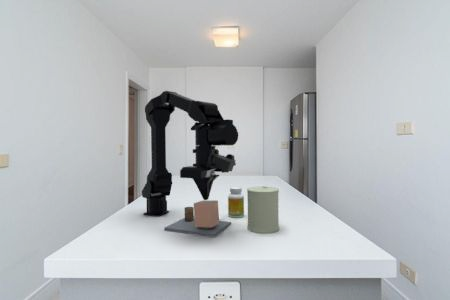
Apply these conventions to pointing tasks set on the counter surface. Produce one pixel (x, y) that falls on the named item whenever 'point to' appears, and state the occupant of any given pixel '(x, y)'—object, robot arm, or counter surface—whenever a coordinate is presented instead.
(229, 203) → the supplement bottle
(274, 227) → the can
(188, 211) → the walnut post
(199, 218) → the terracotta colored cuboid
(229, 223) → the board
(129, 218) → the counter surface
